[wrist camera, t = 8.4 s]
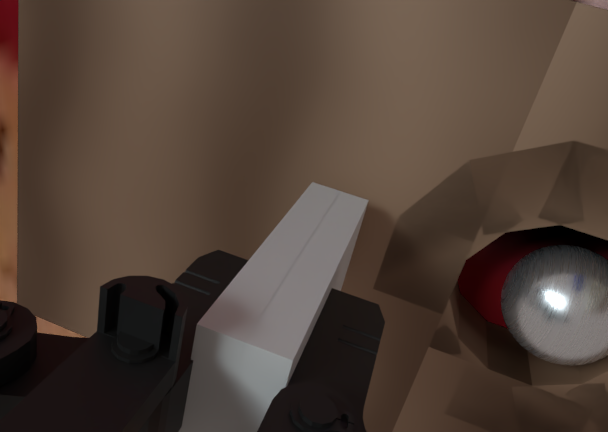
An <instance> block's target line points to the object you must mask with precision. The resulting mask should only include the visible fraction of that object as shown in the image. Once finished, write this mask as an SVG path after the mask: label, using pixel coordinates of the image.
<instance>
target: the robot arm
mask: <svg viewBox="0 0 608 432" xmlns="http://www.w3.org/2000/svg"><path fill="white" fill-rule="evenodd" d="M368 201H369V200H366V199H363V198H360V197H357V196H354V195H351V194H348V193H345V192H342V191H339V190H335V189H332V188H329V187H326V186H323V185H320V184H317V183H314V182H312V183H311V184H310V186H309V187H308V188H307V189H306V191H305V192H304V193H303V194H302V195H301V197H300V198H299V199H298V200H297V202H296V203H295V204H294V205H293V206H292V208H291V209H290V210H289V211H288V213H287V214H286V215H285V216H284V218H283V219H282V220H281V221H280V222H279V224H278V225H277V226H276V227H275V229H274V230H273V231H272V232H271V234H270V235H269V236H268V237H267V238H266V240H265V241H264V242H263V243H262V245H261V246H260V247H259V248H258V249H257V251H256V252H255V253H254V254H253V256H252V257H251V258H250V259H249V260H246V259H244V258H241V257H238V256H235V255H232V254H229V253H227V252H224V251H221V250H216V251H213V252H211V253H208V254H205V255H203V256H200V257H198V258H197V259H196V260H195V261H194V262H193V263H192V264H191V265H190V266H189V267H188V268H187V269H186V271H185V272H183V273H182V274H181V275H180V276H179V277H178V278H177V279H176V280H175V282H174V283H172V284H171V283H169V282H167V281H166V280H163V279H159V278H155V277H151V276H125V277H121V278H116V279H113V280H111V281H109V282H107V283H105V284H103V285H102V286H100V294H99V309H98V323H97V331H96V332H95V333H94V334H93V335H92V336H91V337H90V338H79V337H67V336H60V335H52V334H44V333H37V323H36V317H35V316H34V315H33V314H32V313H31V311H30V310H29V309H28V308H26V307H23V306H21V305H19V304H17V303H14V302H7V301H0V432H366V430H365V426H364V421H363V410H364V405H365V401H366V397H367V393H368V389H369V385H370V381H371V377H372V373H373V369H374V365H375V361H376V357H377V353H378V349H379V345H380V340H381V337H382V333H383V329H384V325H385V320H384V318H383V315H382V312H381V309H380V307H379V304H376V303H373V302H370V301H367V300H365V299H362V298H359V297H356V296H353V295H351V294H348V293H345V292H342V291H341V289H342V285H343V282H344V279H345V276H346V273H347V269H348V266H349V263H350V260H351V256H352V253H353V250H354V247H355V243H356V240H357V237H358V234H359V230H360V227H361V224H362V221H363V217H364V214H365V211H366V208H367V204H368Z"/></svg>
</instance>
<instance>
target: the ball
mask: <svg viewBox="0 0 608 432" xmlns="http://www.w3.org/2000/svg"><path fill="white" fill-rule="evenodd" d="M501 309H502V314H503V318H504V321H505V323H506V325H507V327H508V329H509V331H510V333H511V334H512V336H513V337H514V338H515V339H516V341H517V342H518V343H519V344H520V345H521V346H522V347H523V348H525V349H526V350H527V351H529V352H530V353H532V354H533V355H535V356H536V357H538V358H541V359H543V360H545V361H548V362H551V363H555V364H561V365H571V366H573V365H584V364H588V363H592V362H595V361H597V360H600V359H602V358H604V357H606V356H607V355H608V260H607V259H605V258H604V257H602V256H601V255H599V254H597V253H595V252H593V251H590V250H588V249H585V248H582V247H578V246H572V245H553V246H547V247H543V248H540V249H538V250H535V251H533V252H531V253H529V254H527V255H526V256H524V257H523V258H522V259H520V260H519V261H518V262H517V263H516V264H515V265H514V266H513V268H512V269H511V270H510V272H509V273H508V275H507V277H506V279H505V282H504V285H503V288H502V293H501Z"/></svg>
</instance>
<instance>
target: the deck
mask: <svg viewBox="0 0 608 432" xmlns="http://www.w3.org/2000/svg"><path fill="white" fill-rule="evenodd" d="M312 182H314V183H317V184H320V185H323V186H326V187H329V188H332V189H335V190H339V191H342V192H345V193H348V194H351V195H354V196H357V197H360V198H363V199H366V200H369V201H368V204H367V208H366V211H365V214H364V217H363V221H362V224H361V227H360V230H359V234H358V237H357V240H356V243H355V247H354V250H353V253H352V256H351V260H350V263H349V266H348V269H347V273H346V276H345V279H344V282H343V285H342V289H341V291H342V292H345V293H348V294H351V295H353V296H356V297H359V298H362V299H365V300H367V301H370V302H373V303H376V304H379V307H380V309H381V312H382V315H383V318H384V320H385V325H384V329H383V333H382V337H381V340H380V345H379V349H378V353H377V357H376V361H375V365H374V369H373V373H372V377H371V381H370V385H369V389H368V393H367V397H366V401H365V405H364V410H363V421H364V426H365V430H366V432H608V355H607V356H606V357H604V358H602V359H600V360H597V361H595V362H592V363H588V364H584V365H573V366H571V365H561V364H555V363H551V362H548V361H545V360H543V359H541V358H538V357H536V356H535V355H533V354H532V353H530V352H529V351H527V350H526V349H525V348H523V347H522V346H521V345H520V344H519V343H518V342H517V341H516V339H515V338H514V337H513V336H512V334H511V333H510V331H509V329H507V328H505V327H502V326H499V325H496V324H494V323H491V322H488V321H486V320H485V319H484V318H483V317H482V316H481V315H480V314H479V313H478V312H477V311H476V310H475V309H474V307H473V306H472V305H471V304H470V303H469V302H468V301H467V300H466V299H465V298H464V297H463V296H462V295H461V294H460V290H459V285H458V281H457V280H458V278H459V275H460V273H461V271H462V268H463V266H464V264H465V261H466V260H467V259H468V258H470V257H471V256H473V255H474V254H475V253H477V252H478V251H480V250H481V249H483V248H484V247H485V246H487V245H488V244H490V243H491V242H493V241H494V240H496V239H497V238H498V237H500V236H501V235H503V234H504V233H506V232H512V231H519V230H526V229H534V228H541V227H549V226H556V225H562V226H565V227H568V228H571V229H574V230H577V231H580V232H583V233H586V234H590V235H593V236H596V237H599V238H602V239H605V240H608V10H605V9H601V8H598V7H594V6H590V5H586V4H582V3H578V2H574V1H570V0H19V17H18V254H17V304H19V305H21V306H23V307H26V308H28V309H29V310H30V311H31V313H32V314H33V315H35V316H37V317H40V318H42V319H44V320H47V321H49V322H52V323H54V324H56V325H59V326H61V327H63V328H66V329H68V330H71V331H73V332H75V333H78V334H80V335H83V336H85V337H87V338H90V337H91V336H92V335H93V334H94V333H95V332H96V331H97V323H98V309H99V294H100V286H102V285H103V284H105V283H107V282H109V281H111V280H113V279H116V278H121V277H125V276H151V277H155V278H159V279H163V280H166V281H167V282H169V283H171V284H172V283H174V282H175V280H176V279H177V278H178V277H179V276H180V275H181V274H182V273H183V272H185V271H186V269H187V268H188V267H189V266H190V265H191V264H192V263H193V262H194V261H195V260H196V259H197V258H198V257H200V256H203V255H205V254H208V253H211V252H213V251H216V250H221V251H224V252H227V253H229V254H232V255H235V256H238V257H241V258H244V259H246V260H249V259H250V258H251V257H252V256H253V254H254V253H255V252H256V251H257V249H258V248H259V247H260V246H261V245H262V243H263V242H264V241H265V240H266V238H267V237H268V236H269V235H270V234H271V232H272V231H273V230H274V229H275V227H276V226H277V225H278V224H279V222H280V221H281V220H282V219H283V218H284V216H285V215H286V214H287V213H288V211H289V210H290V209H291V208H292V206H293V205H294V204H295V203H296V202H297V200H298V199H299V198H300V197H301V195H302V194H303V193H304V192H305V191H306V189H307V188H308V187H309V186H310V184H311V183H312Z"/></svg>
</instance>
